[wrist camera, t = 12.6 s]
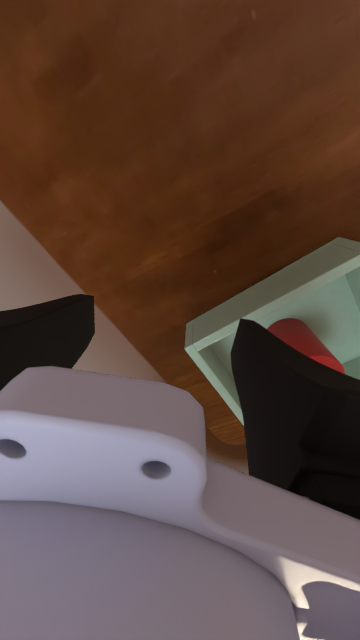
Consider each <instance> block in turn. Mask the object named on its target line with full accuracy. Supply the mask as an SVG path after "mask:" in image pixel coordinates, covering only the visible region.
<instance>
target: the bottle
mask: <svg viewBox="0 0 360 640" xmlns="http://www.w3.org/2000/svg"><path fill="white" fill-rule="evenodd" d="M267 330H268V331H270V332H271V333H272V334H274V335H275V336H276V337H278V338H279V339H281V340H282V341H284V342H285V343H286V344H288V345H290V346H291V347H293V348H294V349H296V350H297V351H299V352H301V353H302V354H304V355H306V356H308V357H310V358H312V359H313V360H315V361H317V362H319V363H321V364H323V365H325V366H328V367H330V368H332V369H334V370H336V371H339V372H341V373H343V374H345V370H344V367H343V366H342V364H341V363H340V362H339V361H338V360H337V358H336V357H335V356H334V355H333V354H332V353H331V352H330V351H329V350H328V348H327V347H326V346H325V345H324V344H323V343H322V342H321V341H320V340H319V338H318V337H317V336H316V335H315V334H314V333H313V332H312V331H311V330H310V328H309V327H308V326H307V325H306V324H305V323H304V322H302V321H300V320H298V319H293V318H286V319H281V320H278V321H276V322H274V323H273V324H271V325H270V326H269V327H268V328H267Z"/></svg>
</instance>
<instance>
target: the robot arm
mask: <svg viewBox="0 0 360 640" xmlns="http://www.w3.org/2000/svg"><path fill="white" fill-rule="evenodd" d="M94 326H95V324H94V296H90V295H84V294H78V295H72V296H68V297H64V298H60V299H56V300H52V301H49V302H45V303H41V304H36V305H32V306H28V307H23V308H18V309H13V310H7V311H0V640H360V380H359V379H356V378H353V377H351V376H348V375H346V374H343V373H341V372H339V371H336V370H334V369H332V368H330V367H328V366H325V365H323V364H321V363H319V362H317V361H315V360H313V359H312V358H310V357H308V356H306V355H304V354H302V353H301V352H299V351H297V350H296V349H294V348H293V347H291V346H290V345H288V344H286V343H285V342H284V341H282V340H281V339H279V338H278V337H276V336H275V335H274V334H272V333H271V332H270V331H268V330H267V329H266V328H264V327H263V326H261V325H260V324H258V323H257V322H255V321H253V320H248V319H242V318H240V321H239V324H238V328H237V331H236V335H235V338H234V342H233V346H232V349H231V353H230V354H231V367H232V373H233V377H234V381H235V385H236V389H237V393H238V397H239V401H240V405H241V410H242V415H243V422H244V429H245V437H246V447H247V457H248V468H249V475H248V474H245V473H243V472H240V471H238V470H236V469H233V468H231V467H228V466H226V465H223V464H221V463H219V462H216V461H213V460H211V459H209V458H206V434H205V420H204V411H203V407H202V406H201V405H200V404H199V403H198V402H197V401H196V399H195V398H194V397H193V396H192V395H191V394H190V393H189V392H188V391H185V390H182V389H180V388H177V387H174V386H171V385H169V384H166V383H162V382H156V381H149V380H142V379H135V378H129V377H122V376H115V375H109V374H102V373H95V372H88V371H82V370H75V369H72V367H73V366H74V365H75V363H76V362H77V361H78V359H79V358H80V357H81V355H82V354H83V352H84V351H85V350H86V348H87V347H88V345H89V343H90V341H91V339H92V337H93V335H94V333H95V327H94Z"/></svg>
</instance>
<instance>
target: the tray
mask: <svg viewBox="0 0 360 640" xmlns="http://www.w3.org/2000/svg"><path fill="white" fill-rule="evenodd" d="M240 318H242V319H248V320H253V321H255V322H257V323H258V324H260V325H261V326H263V327H264V328H266V329H267V328H268V327H269V326H270V325H271V324H273V323H274V322H276V321H278V320H281V319H286V318H293V319H298V320H300V321H302V322H304V323H305V324H306V325H307V326H308V327H309V328H310V330H311V331H312V332H313V333H314V334H315V335H316V336H317V337H318V338H319V340H320V341H321V342H322V343H323V344H324V345H325V346H326V347H327V348H328V350H329V351H330V352H331V353H332V354H333V355H334V356H335V357H336V358H337V360H338V361H339V362H340V363H341V364H342V366H343V367H344V370H345V374H346V375H348V376H351V377H353V378H356V379H359V380H360V242H358V241H354V240H350V239H346V238H342V237H337V238H335V239H334V240H332V241H330V242H328V243H327V244H325V245H323V246H321V247H320V248H318V249H316V250H314V251H313V252H311V253H309V254H307V255H306V256H304V257H302V258H300V259H299V260H297V261H295V262H293V263H292V264H290V265H288V266H286V267H285V268H283V269H281V270H279V271H278V272H276V273H274V274H272V275H271V276H269V277H267V278H265V279H264V280H262V281H260V282H258V283H257V284H255V285H253V286H251V287H250V288H248V289H246V290H244V291H243V292H241V293H239V294H237V295H236V296H234V297H232V298H230V299H229V300H227V301H225V302H223V303H222V304H220V305H218V306H216V307H215V308H213V309H211V310H209V311H208V312H206V313H204V314H202V315H200V316H199V317H197V318H195V319H193V320H192V321H190V322H188V323H186V335H185V348H184V349H185V350H186V351H187V353H188V354H189V355H190V357H191V358H192V359H193V361H194V362H195V363H196V364H197V366H198V367H199V368H200V370H201V371H202V372H203V374H204V375H205V376H206V377H207V379H208V380H209V381H210V383H211V384H212V385H213V387H214V388H215V389H216V390H217V392H218V393H219V394H220V396H221V397H222V398H223V400H224V401H225V402H226V403H227V405H228V406H229V407H230V409H231V410H232V411H233V412H234V414H235V415H236V416H237V418H238V419H239V420H240V422H241V423H242V424H243V425H244V422H243V415H242V410H241V405H240V401H239V397H238V393H237V389H236V385H235V381H234V377H233V373H232V367H231V354H230V353H231V349H232V346H233V342H234V338H235V335H236V331H237V328H238V324H239V321H240Z"/></svg>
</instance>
